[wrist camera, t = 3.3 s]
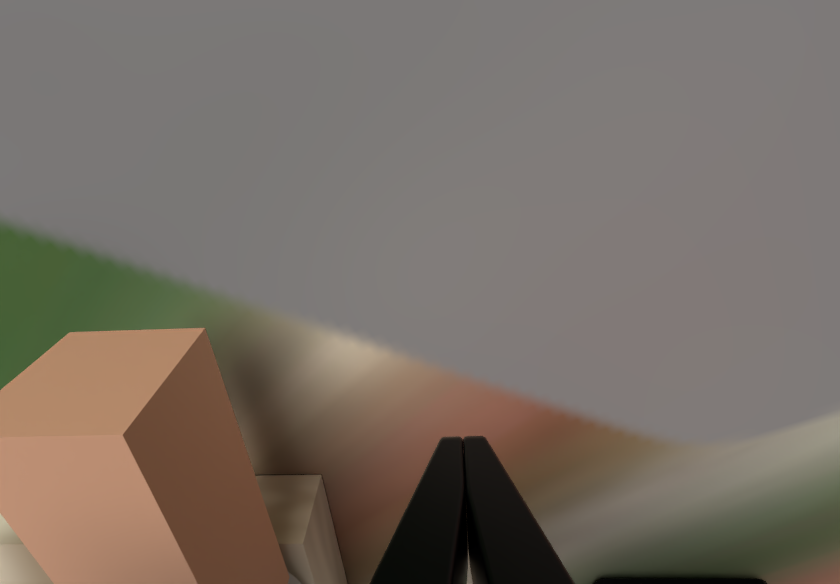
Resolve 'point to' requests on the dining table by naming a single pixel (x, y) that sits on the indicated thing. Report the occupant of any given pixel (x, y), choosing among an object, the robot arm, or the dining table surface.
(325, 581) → the flat cream base board
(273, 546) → the hinged leg
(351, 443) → the dining table surface
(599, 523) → the dining table surface
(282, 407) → the dining table surface
